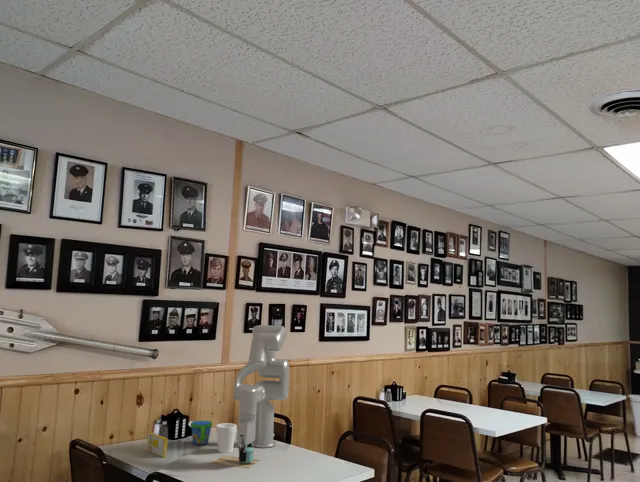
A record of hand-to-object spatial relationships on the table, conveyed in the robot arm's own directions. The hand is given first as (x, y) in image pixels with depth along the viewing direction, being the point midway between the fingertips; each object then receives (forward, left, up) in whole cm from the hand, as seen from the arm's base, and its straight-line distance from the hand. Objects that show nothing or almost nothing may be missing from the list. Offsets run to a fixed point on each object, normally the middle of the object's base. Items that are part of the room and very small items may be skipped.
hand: (245, 458), depth 229 cm
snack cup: (-26, -37, -3) cm, 45 cm away
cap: (0, 0, -1) cm, 1 cm away
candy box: (-3, -47, -4) cm, 47 cm away
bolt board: (0, -5, -3) cm, 6 cm away
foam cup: (-14, -17, -3) cm, 22 cm away
